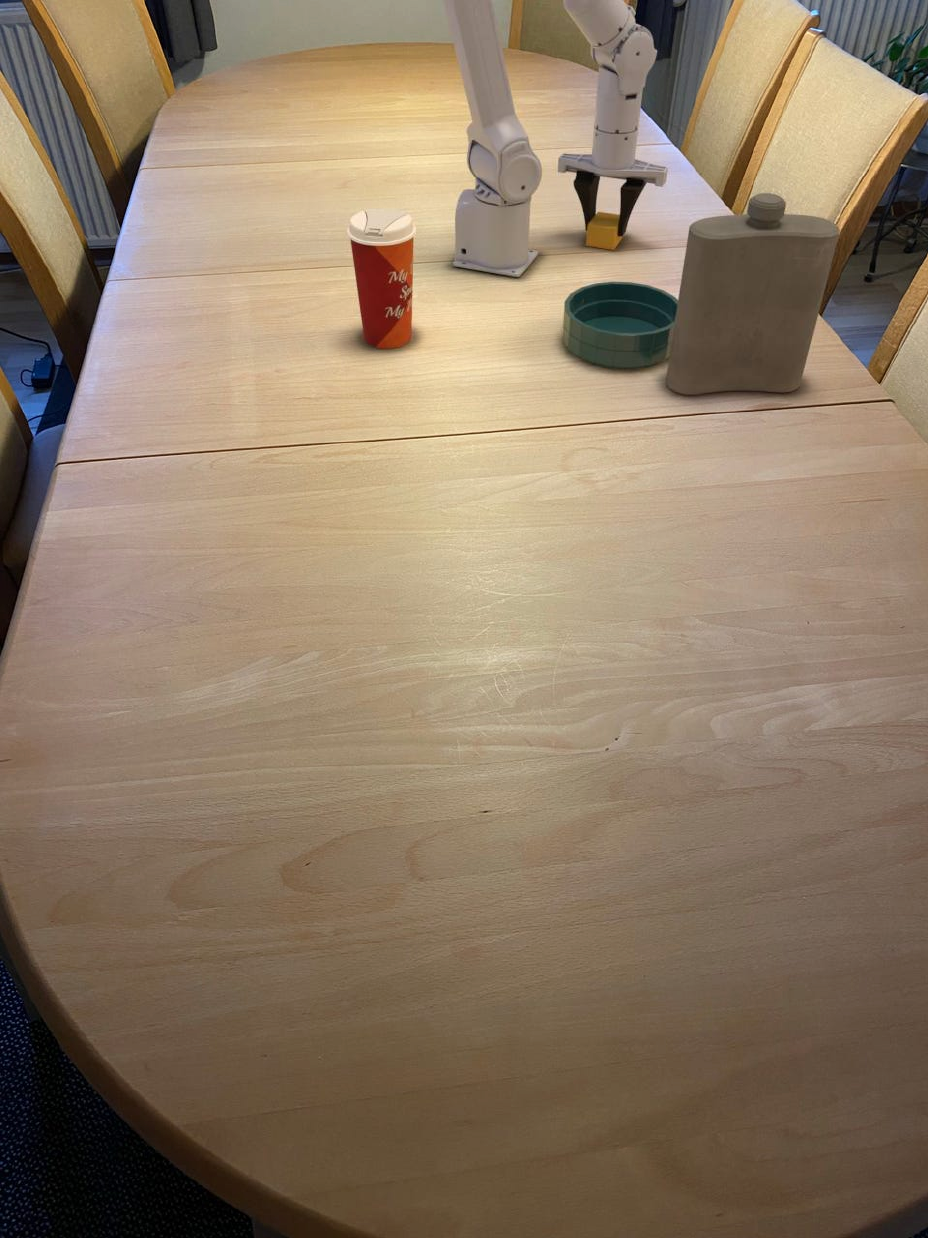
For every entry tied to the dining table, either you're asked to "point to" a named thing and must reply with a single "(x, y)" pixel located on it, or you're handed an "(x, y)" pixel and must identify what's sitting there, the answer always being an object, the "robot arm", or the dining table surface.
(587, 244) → the yellow block
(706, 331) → the flask
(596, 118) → the robot arm
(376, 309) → the paper cup
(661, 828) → the dining table surface
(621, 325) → the bowl
